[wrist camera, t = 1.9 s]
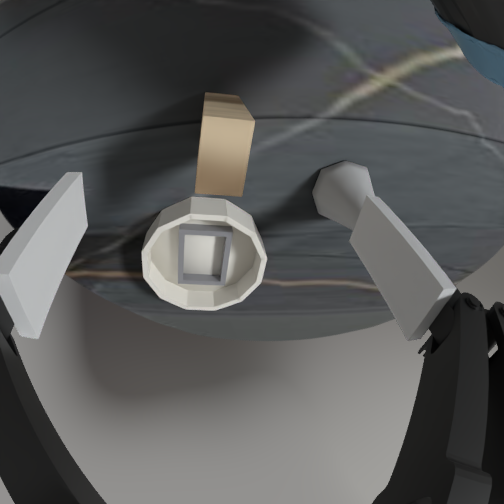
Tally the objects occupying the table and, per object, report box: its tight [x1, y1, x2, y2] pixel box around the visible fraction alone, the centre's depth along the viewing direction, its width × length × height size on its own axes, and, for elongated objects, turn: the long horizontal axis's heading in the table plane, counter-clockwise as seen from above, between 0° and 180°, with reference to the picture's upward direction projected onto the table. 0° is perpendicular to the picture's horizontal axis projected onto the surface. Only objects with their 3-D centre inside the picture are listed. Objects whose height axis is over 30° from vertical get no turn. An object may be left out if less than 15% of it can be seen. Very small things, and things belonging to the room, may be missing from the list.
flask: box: [312, 160, 375, 230], centre depth 29 cm, size 7×7×10 cm
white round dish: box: [142, 197, 267, 310], centre depth 34 cm, size 13×13×4 cm
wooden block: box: [195, 92, 255, 197], centre depth 22 cm, size 5×3×11 cm, turn 171°
